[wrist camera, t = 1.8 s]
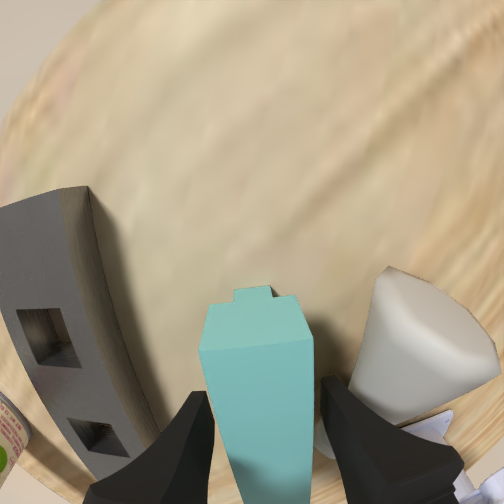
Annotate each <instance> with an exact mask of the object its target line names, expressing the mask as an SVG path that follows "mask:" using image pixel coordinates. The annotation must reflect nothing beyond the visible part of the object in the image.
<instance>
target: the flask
mask: <svg viewBox="0 0 504 504" xmlns="http://www.w3.org/2000/svg"><path fill="white" fill-rule="evenodd" d="M500 374H501V368H500V363H499V359H498V354H497V350H496V346H495V343H494V341H493V340H492V339H491V338H490V336H489V335H488V334H487V332H486V331H485V330H484V328H483V327H482V326H481V325H480V323H479V322H478V321H477V320H476V318H475V317H474V316H473V315H472V313H471V312H470V311H469V310H468V309H467V308H466V307H464V306H463V305H461V304H460V303H459V302H457V301H456V300H454V299H453V298H452V297H450V296H449V295H447V294H446V293H444V292H443V291H442V290H440V289H439V288H437V287H436V286H434V285H433V284H431V283H430V282H428V281H425V280H423V279H420V278H418V277H415V276H413V275H411V274H408V273H406V272H403V271H401V270H398V269H396V268H393V267H391V266H388V267H387V268H386V269H385V270H384V271H383V272H382V274H381V275H380V276H379V277H378V278H377V279H376V281H375V286H374V290H373V295H372V299H371V304H370V309H369V313H368V318H367V323H366V327H365V331H364V336H363V340H362V344H361V348H360V352H359V355H358V358H357V361H356V365H355V368H354V371H353V374H352V377H351V380H350V383H349V386H348V389H349V390H350V391H351V392H352V393H353V394H354V395H355V396H356V397H357V398H358V399H359V400H360V401H362V402H363V403H364V404H365V405H366V406H367V407H369V408H370V409H371V410H372V411H374V412H375V413H376V414H378V415H379V416H381V417H382V418H383V419H385V420H386V421H388V422H390V423H391V424H393V425H397V424H399V423H402V422H404V421H407V420H409V419H411V418H414V417H416V416H418V415H421V414H423V413H425V412H427V411H430V410H432V409H434V408H436V407H438V406H441V405H443V404H445V403H447V402H450V401H452V400H454V399H456V398H458V397H460V396H462V395H464V394H466V393H468V392H470V391H472V390H474V389H476V388H478V387H480V386H482V385H483V384H485V383H487V382H488V381H490V380H492V379H493V378H495V377H497V376H498V375H500ZM313 446H314V448H315V449H317V450H318V451H320V452H321V453H322V454H324V455H325V456H327V457H328V458H329V459H336V458H335V455H334V453H333V450H332V447H331V445H330V442H329V439H328V437H327V434H326V431H325V428H324V424H323V420H322V417H321V419H320V420H319V421H318V422H317V424H316V425H315V426H314V427H313Z"/></svg>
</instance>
